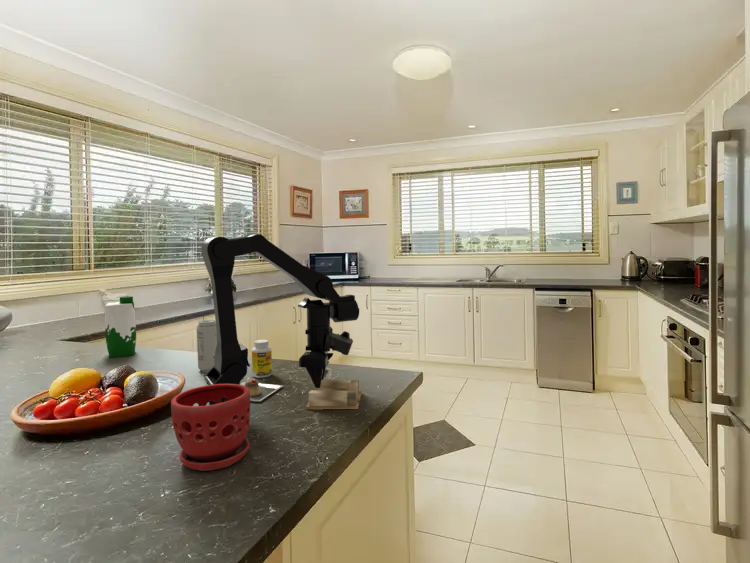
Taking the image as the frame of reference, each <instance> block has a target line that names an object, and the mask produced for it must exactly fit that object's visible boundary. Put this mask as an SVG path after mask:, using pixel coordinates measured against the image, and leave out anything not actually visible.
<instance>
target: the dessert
mask: <svg viewBox="0 0 750 563" xmlns="http://www.w3.org/2000/svg"><path fill="white" fill-rule="evenodd" d="M240 385H243V386H245V387H247V388H248V389H249V391H250V397H254V396H258V395H260V394H261V393H262V391H261V388H267V389H274V390H273V391H271V392H270V393H269V394H267V395H265V396H264V397H263V398H261V399H250V402H255V403H260V402H262V401H263V400H265V399H266V398H268V397H269V396H270V395H272V394H273V393H275V392H277V391H278V390H280V389H281V388H283V387H284V385H282V384H273V383H262V382H260V383H259V382H258V381H257V380H256V378H255V377H252V376H250V377H247V379H246V381H244V382H240Z"/></svg>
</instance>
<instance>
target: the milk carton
mask: <svg viewBox="0 0 750 563" xmlns="http://www.w3.org/2000/svg"><path fill="white" fill-rule="evenodd" d="M136 323H137V322H136V312H135V303H134V296H131V295H129V296H127V295H126V296H120V297H119V301H116V302H107V304H105V305H104V327H105V328H104V329H105V344H106V348H107V353H108V357H109V359H110V358H120V357H131V355H132V356H134V355H135V351H136V344H137V326H136V325H137V324H136Z"/></svg>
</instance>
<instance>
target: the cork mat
mask: <svg viewBox="0 0 750 563" xmlns="http://www.w3.org/2000/svg"><path fill="white" fill-rule="evenodd" d="M360 397H361V398H362V391H361V390H359V394H358V399H357V403H356V406H309V401H308V402H307V405H306V406H305V408H306V410H323V409H358V410H359V407H358V406H360V402H361V398H360ZM359 401H360V402H359Z"/></svg>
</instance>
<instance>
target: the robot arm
mask: <svg viewBox="0 0 750 563" xmlns="http://www.w3.org/2000/svg"><path fill="white" fill-rule="evenodd" d="M200 250H201V255H202V259H203V262H204V265H205V268H206V270H207V273H208V276H209V277H210V281H211V291H212V293H211V294H212V300H213V301H212V302H213V309H214V320H215V321H216V329H217V338H218V341H217V346H216V351H215V360H214V366H213V368H212V369H211V370H210V371H209V372H206V374H205V375H204V380H205V382H206V384H207V385H214V384H239V385H240V384H241V381H243V379H244V378H245V377H246V376H247V374H248V367H251V365H250V362H249V358H248V357H249V349H248V348H247V347H246V346H244V345H243V344H242V343H240V342H239V340H238V331H237V322H236V320H237V319H236V311H235V303H234V292H233V283H232V281H233V280H232V276H233V272H234V267H235V259H236V258H235V257H239V256H245V255H248V254H253V253H254V254H255V255H257V256H259V257H260V258H262V259H263V260H264V261H266V262H268V263H269V264H270V265H272V266H273V267H274V268H276V269H278V270H279V271H280V272H283V273H284V274H286V275H287V276H288V277H290V278H291V279H292V280H293V281H294V282H295V283H296V285H297V286H298V287H299V288H300V289H301V290H302V291H303V292H304V293H305V294H306V295H308V296H310V297H313V298H317V299H310V298H308V297H304V298H303V300H302V301H300V302H299V303H298V305H297V306H298V308H299V307H300V308H302V309H306V329H305V331H304V332H305V335H306V338H307V339H306V342H307V344H306V345H305V352H304V353H303V354H301V356H300V357H299V359H298V367H300V368H305V370H306V371H307V373H308V375H309V376H310V379H311V380H312V383H313V384H314V388H315V387H316V388H320V386H321V380H323V379H324V375H325V370H326V367H328V365H329V363H330V360H331V359H332V357H333V355H334V353H333V352H334V351H336V352H338V353H341V354H342V355H344V356H348V355H349V353H350V350H351V349H352V346H353V342H354V340H353V338H351V336H350V335H351V334H350V332H349V331H345V330H344V331H342V332H341V333H335V332H333V331H334V330H333V327H332V326H331V320H332V321H333V322H334V323H342V322H343V323H344V322H353V321H354V322H355V321H357V320H358V318H359V316H360V308H359V305H358V302H357V301H356V296H355V294H346V295H339V293H338V292H337V291H336V289H335V288H334V284H333V280H332V278H331V277H330V276H328V275H326V274H324V273H322V272H319V271H318V270H314V269H312V268H309V267H308V266H305V265H303V264H302V263H300V262H299V261H298V260H296V259H295V258H293V257H292V256H291V255H289V254H288V253H286V252H285V251H284V250H282V249H281V248H279V247H278V246H276V245H275V244H274V243H273V242H271V241H269V240H268V239H267V238H266V237H265V236H264V235H263V234H259V233H256V234H255V233H254V234H250V235H248V236H242V237H235V238H227V237H225V236H213V237H209V238H207V239H205V240H204V242H202V244H201V248H200ZM323 300H325V301H329V302H323ZM331 350H332V351H333V352H330V351H331ZM226 401H227V398H225V397H223V398H221V402H222V403H223V402H226ZM214 404H216V403H215V402H213V401H211V402H208V405H214Z"/></svg>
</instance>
